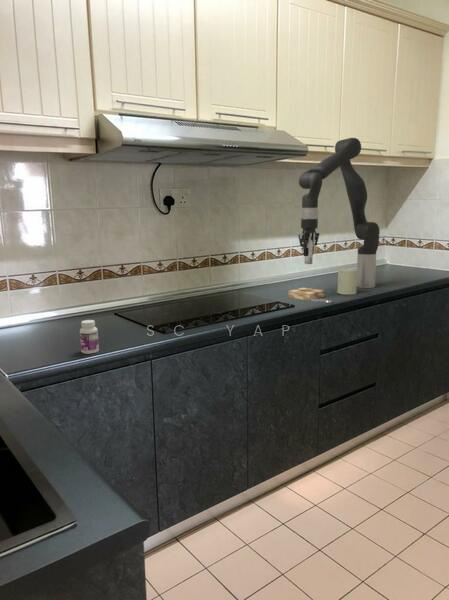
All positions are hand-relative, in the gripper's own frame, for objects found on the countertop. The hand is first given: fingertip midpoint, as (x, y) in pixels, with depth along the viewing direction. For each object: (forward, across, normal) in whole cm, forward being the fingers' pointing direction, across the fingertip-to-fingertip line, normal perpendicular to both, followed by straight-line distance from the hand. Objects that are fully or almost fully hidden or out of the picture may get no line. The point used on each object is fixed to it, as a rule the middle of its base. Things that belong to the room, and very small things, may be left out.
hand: (308, 255), depth 223 cm
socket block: (+20, 0, -1) cm, 20 cm away
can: (+20, -21, +8) cm, 30 cm away
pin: (+4, 0, 0) cm, 4 cm away
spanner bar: (+20, +4, +10) cm, 22 cm away
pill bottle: (+21, +113, -3) cm, 115 cm away
